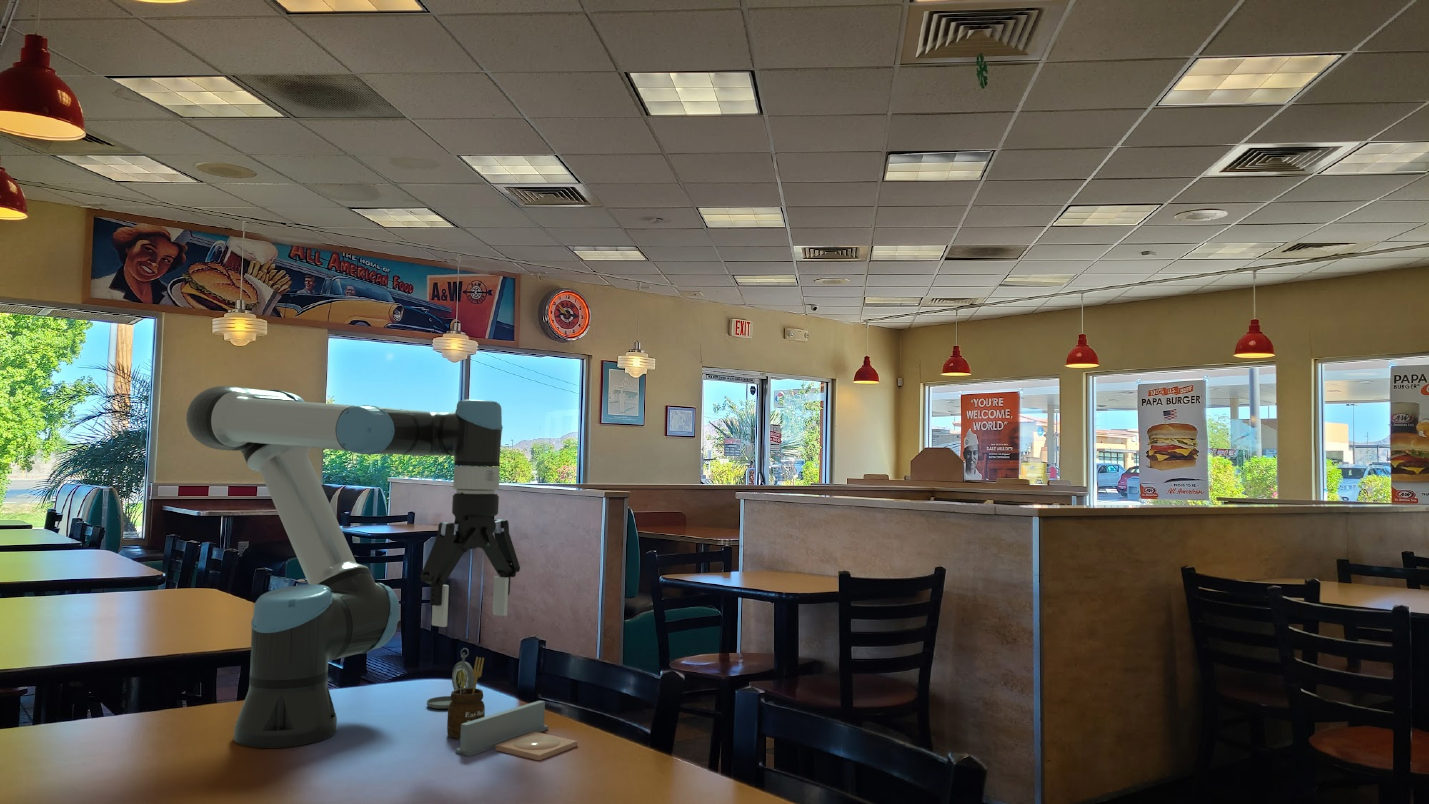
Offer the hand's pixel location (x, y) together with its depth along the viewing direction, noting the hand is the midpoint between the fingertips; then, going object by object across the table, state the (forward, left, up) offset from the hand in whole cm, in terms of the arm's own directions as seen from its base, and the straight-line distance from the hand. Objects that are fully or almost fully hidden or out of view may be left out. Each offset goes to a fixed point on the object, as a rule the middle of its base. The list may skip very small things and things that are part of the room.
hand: (470, 620), depth 157 cm
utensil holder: (0, 0, -19) cm, 19 cm away
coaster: (+14, +1, -19) cm, 24 cm away
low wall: (+7, +1, -19) cm, 20 cm away
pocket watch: (-16, +12, -19) cm, 28 cm away
